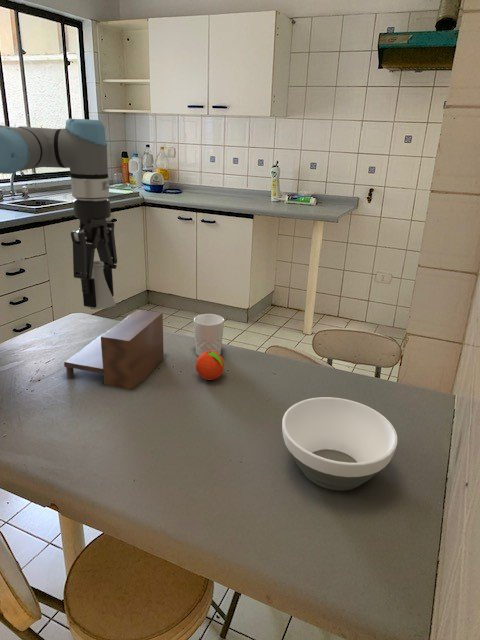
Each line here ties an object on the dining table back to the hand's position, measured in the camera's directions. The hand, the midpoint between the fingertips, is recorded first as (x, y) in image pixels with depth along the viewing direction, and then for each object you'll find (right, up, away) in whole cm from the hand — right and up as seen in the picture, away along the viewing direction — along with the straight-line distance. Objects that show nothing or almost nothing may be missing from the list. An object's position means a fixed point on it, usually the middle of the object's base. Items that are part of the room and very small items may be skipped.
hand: (99, 300), depth 106 cm
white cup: (+24, -14, +19) cm, 33 cm away
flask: (0, -1, 0) cm, 1 cm away
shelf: (+2, -17, +9) cm, 19 cm away
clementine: (+25, -19, +6) cm, 32 cm away
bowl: (+49, -32, -23) cm, 63 cm away
